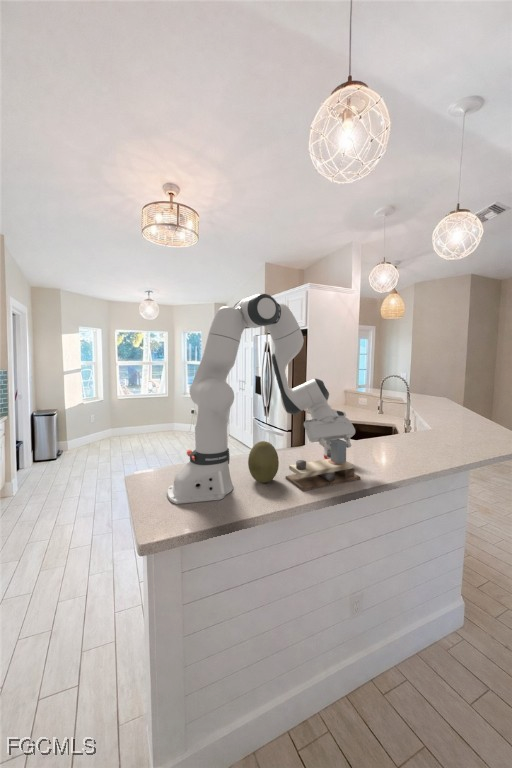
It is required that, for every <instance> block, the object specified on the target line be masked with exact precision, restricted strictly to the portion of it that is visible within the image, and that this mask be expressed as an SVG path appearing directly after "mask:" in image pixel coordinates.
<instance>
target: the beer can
mask: <svg viewBox="0 0 512 768" xmlns="http://www.w3.org/2000/svg"><path fill="white" fill-rule="evenodd" d="M335 440H337V439H335ZM324 442H325V443H326V444H327V445H330V447H331V440H327V441H324ZM323 458H324V460H325V459H331V449H330V450H329V451H326V450H325V448H324V447H323Z"/></svg>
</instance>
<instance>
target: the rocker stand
mask: <svg viewBox="0 0 512 768" xmlns="http://www.w3.org/2000/svg"><path fill="white" fill-rule="evenodd" d="M285 479H286V480H287V481H288V482H289V483H290V484H292V485H293V486H294V487H296V488H298V489H299V490H300V491H302V492H303V491H309V490H314V489H317V488H322V487H327V486H333V485H338V484H342V483H347V482H352V480H353V481H357V480H361V476H360V475H358V474H357V473H355V468H354V467H353V468H352V469H346V470H341V471H335V472H330V473H324V474H319V475H313V476H308V477H302V478H301V477H300V476H298V475H297V474H295V473H293V474H289V475H285Z"/></svg>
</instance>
